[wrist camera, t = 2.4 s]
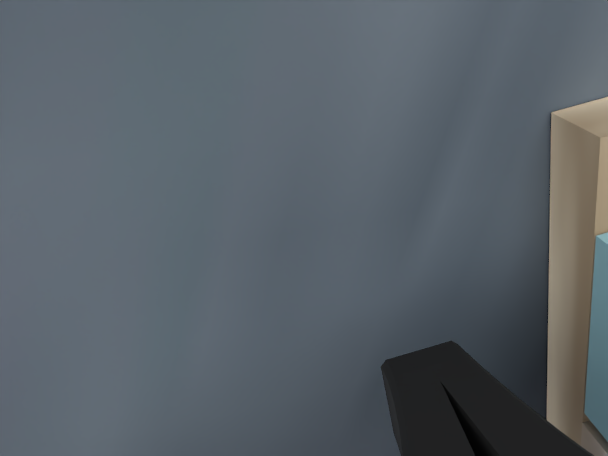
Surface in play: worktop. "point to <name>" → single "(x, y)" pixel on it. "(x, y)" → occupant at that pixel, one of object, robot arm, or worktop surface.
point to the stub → (598, 342)
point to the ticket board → (575, 261)
